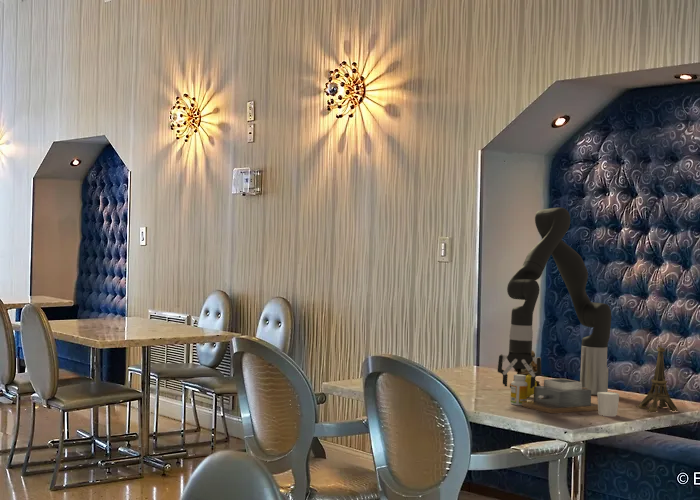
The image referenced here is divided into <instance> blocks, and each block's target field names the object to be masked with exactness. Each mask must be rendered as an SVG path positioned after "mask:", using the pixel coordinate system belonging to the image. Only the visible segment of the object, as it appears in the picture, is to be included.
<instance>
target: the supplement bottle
mask: <svg viewBox="0 0 700 500" xmlns="http://www.w3.org/2000/svg"><path fill="white" fill-rule="evenodd" d="M513 380H514V381H513ZM513 380H512V381H511V382H510V384H511V388H510V404H511V405H514V406H522V402H528V397H527V382H525V380H526V375H518V374H517V373H516V374H513Z"/></svg>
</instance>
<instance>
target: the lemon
mask: <svg viewBox="0 0 700 500" xmlns="http://www.w3.org/2000/svg"><path fill="white" fill-rule="evenodd" d="M531 377H532V376H531V375H527V376H526V380H525V382H527V398H530V397H531V396H532V395H533V396H534V387H537V383H536V381H537V379H535V386H534V387H533V388H530V386H531Z"/></svg>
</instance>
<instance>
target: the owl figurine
mask: <svg viewBox="0 0 700 500" xmlns="http://www.w3.org/2000/svg"><path fill="white" fill-rule="evenodd" d="M532 357H533V358H536V352H535V351H534V350H532ZM530 366H531V368H532V369H533V371H534V372H537V364H535V362H534V361H532V362H531V363H530ZM513 370H514V372H516V374H518V375H526V376H527V375H531V374H530V373H529V372H528V370H527V369H515V368H513ZM512 381H514V379H513V380H512ZM536 383H537V386H542V385H541V384H540V381H538V380H536ZM509 388H510V389H511V383H509Z"/></svg>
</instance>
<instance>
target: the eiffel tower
mask: <svg viewBox="0 0 700 500" xmlns="http://www.w3.org/2000/svg"><path fill="white" fill-rule="evenodd" d="M660 337H662V334H661V336H660ZM659 344H660V345H659V346H658V347H656V348H657V349H656V351H657V358H656V364H655V370H654V376H653V378H651V380H650V382H651V387H650V390H649V391H647V395H646V396H645V397H644V398H643V399H642V400H641V402H639V405H637V406H636V408H637V407H639V408H638V409H645V408H647V410H646V412H648V411H650V412H649V413H651V412H656V411H658V412H659V410H658V407H661V408H662V407H668V408H669V410H672V411H675V410H676V411H679V409H678V408H677V406H676V405H675V403H674V401H673V399H672V398H671V397H670V394H669V392H668V387H667V384H668V380H667V379H666V374H665V373H666V372H665V363H664V352H666V349H665V347H662V343H659ZM650 402H652V403H651V404H650ZM658 402H659V403H658ZM649 404H650V406H649V408H648V405H649ZM661 408H660V409H661Z"/></svg>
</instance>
